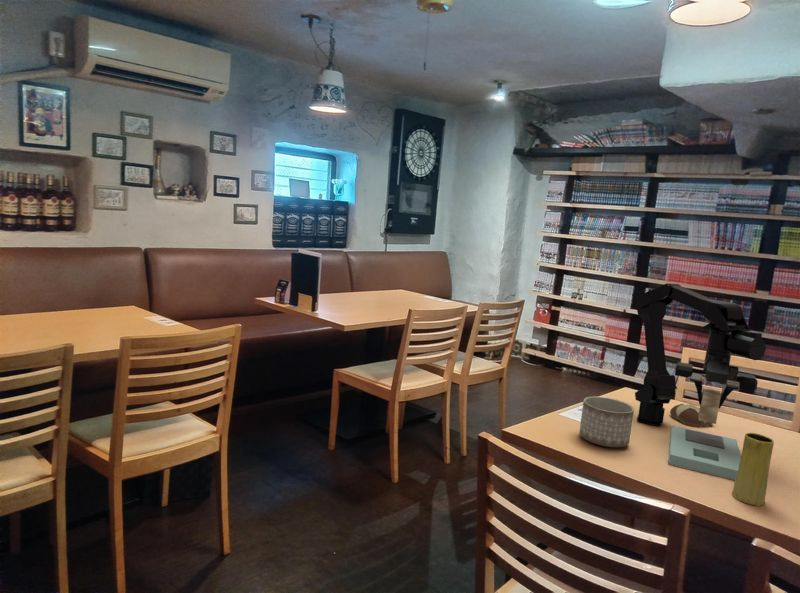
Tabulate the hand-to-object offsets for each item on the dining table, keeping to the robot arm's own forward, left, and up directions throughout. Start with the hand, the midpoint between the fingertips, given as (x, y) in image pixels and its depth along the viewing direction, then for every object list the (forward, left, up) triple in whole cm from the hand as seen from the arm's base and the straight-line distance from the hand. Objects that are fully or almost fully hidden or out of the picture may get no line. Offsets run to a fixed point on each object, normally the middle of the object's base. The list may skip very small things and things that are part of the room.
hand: (709, 406), depth 144 cm
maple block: (0, 0, -4) cm, 4 cm away
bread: (-2, +23, -12) cm, 26 cm away
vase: (+8, -27, -12) cm, 31 cm away
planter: (-24, -13, -12) cm, 30 cm away
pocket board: (0, -6, -12) cm, 13 cm away
